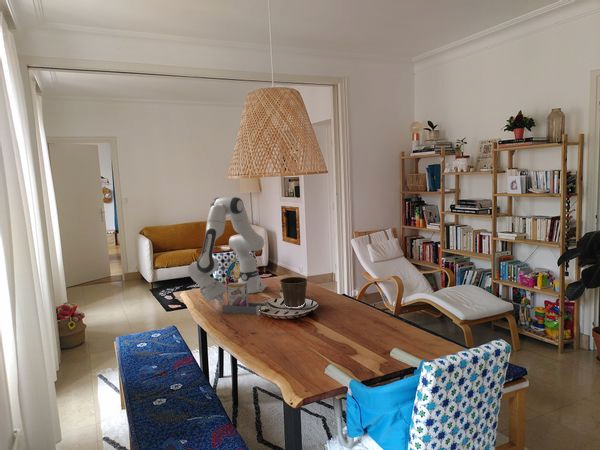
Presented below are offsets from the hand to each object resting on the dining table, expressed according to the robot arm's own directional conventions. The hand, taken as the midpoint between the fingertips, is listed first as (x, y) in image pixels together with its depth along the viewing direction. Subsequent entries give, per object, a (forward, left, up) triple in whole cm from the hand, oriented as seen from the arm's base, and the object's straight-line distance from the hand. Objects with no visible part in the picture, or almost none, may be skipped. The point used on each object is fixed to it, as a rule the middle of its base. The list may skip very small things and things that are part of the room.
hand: (223, 301), depth 265 cm
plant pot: (-14, +40, -5) cm, 42 cm away
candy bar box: (0, +10, -5) cm, 11 cm away
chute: (0, +14, -5) cm, 14 cm away
